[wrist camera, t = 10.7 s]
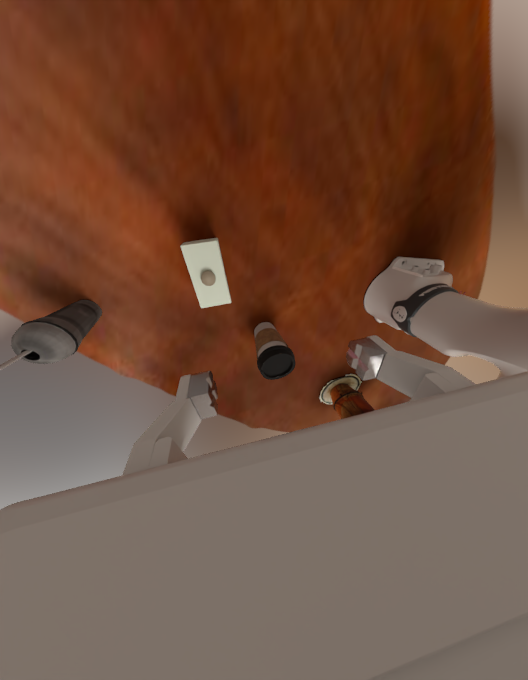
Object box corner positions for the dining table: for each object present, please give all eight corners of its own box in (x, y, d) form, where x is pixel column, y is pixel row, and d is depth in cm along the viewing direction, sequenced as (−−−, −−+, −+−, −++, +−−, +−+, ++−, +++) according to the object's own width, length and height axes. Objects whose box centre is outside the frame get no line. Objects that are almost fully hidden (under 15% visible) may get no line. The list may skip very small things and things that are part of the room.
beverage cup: (76, 324, 41) (-17, 399, 25) (59, 292, 37) (-64, 356, 21) (114, 324, 42) (51, 394, 26) (102, 293, 38) (20, 354, 22)
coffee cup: (248, 319, 49) (258, 355, 37) (279, 316, 50) (299, 350, 38) (250, 345, 53) (259, 384, 41) (278, 341, 55) (295, 378, 43)
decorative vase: (309, 383, 68) (360, 466, 46) (366, 363, 70) (441, 434, 48) (312, 413, 80) (352, 491, 58) (360, 396, 82) (417, 464, 60)
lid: (217, 237, 32) (217, 241, 29) (230, 295, 39) (231, 304, 35) (183, 242, 32) (179, 246, 28) (202, 300, 38) (200, 310, 35)
